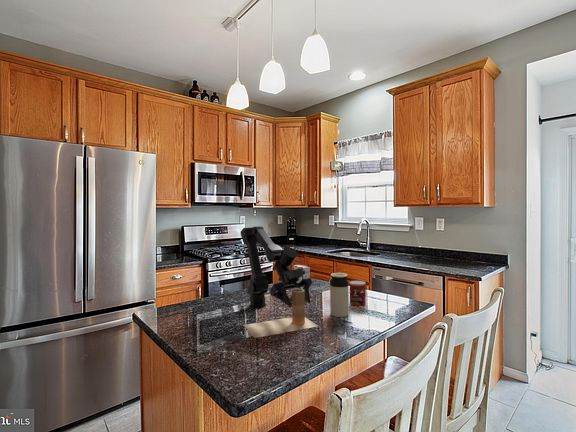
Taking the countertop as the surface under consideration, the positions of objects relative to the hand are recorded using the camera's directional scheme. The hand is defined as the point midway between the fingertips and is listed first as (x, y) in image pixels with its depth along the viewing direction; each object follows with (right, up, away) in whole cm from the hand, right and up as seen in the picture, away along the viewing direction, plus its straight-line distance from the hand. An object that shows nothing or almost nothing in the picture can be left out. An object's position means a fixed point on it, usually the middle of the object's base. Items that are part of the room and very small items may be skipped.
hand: (300, 304), depth 126 cm
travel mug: (+18, -9, +15) cm, 25 cm away
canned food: (+29, -8, +29) cm, 42 cm away
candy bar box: (+3, -8, +45) cm, 46 cm away
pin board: (-8, -9, -2) cm, 12 cm away
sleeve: (-1, -8, +1) cm, 8 cm away
